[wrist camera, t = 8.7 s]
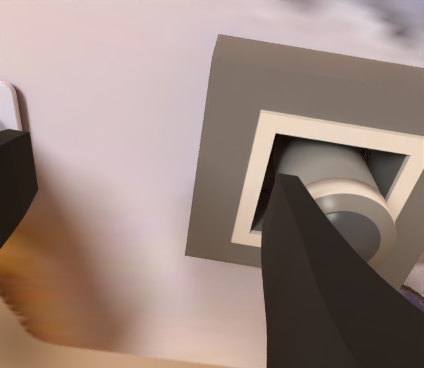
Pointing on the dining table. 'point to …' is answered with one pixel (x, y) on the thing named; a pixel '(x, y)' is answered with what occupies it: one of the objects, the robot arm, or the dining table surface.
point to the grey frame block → (307, 128)
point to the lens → (341, 192)
